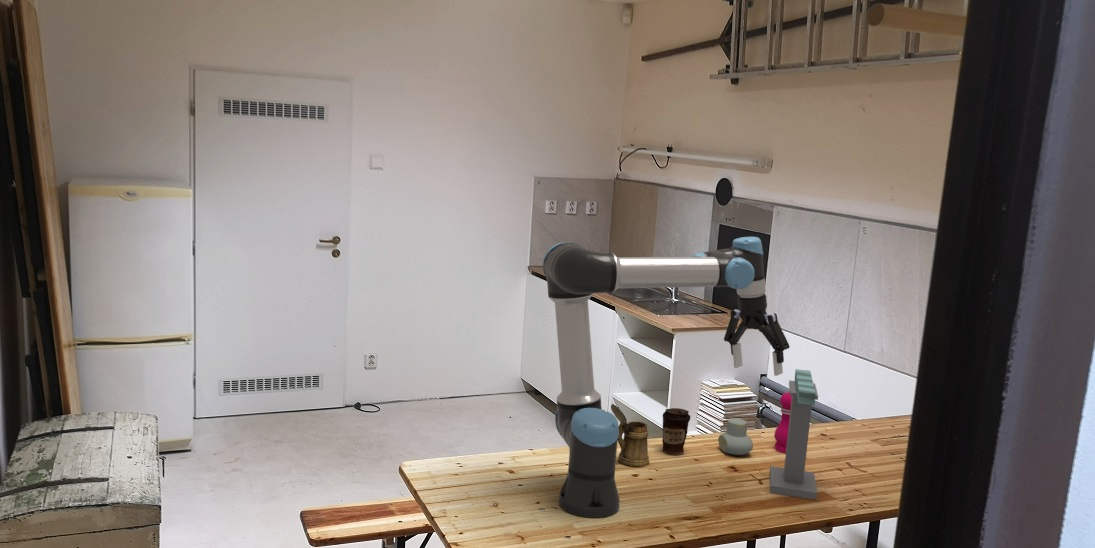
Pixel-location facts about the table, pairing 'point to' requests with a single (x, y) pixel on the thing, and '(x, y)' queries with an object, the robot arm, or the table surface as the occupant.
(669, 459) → the table surface
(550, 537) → the table surface
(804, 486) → the stand
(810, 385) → the block
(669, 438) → the coffee cup
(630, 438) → the wooden mug
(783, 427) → the pepper mill
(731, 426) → the air freshener
